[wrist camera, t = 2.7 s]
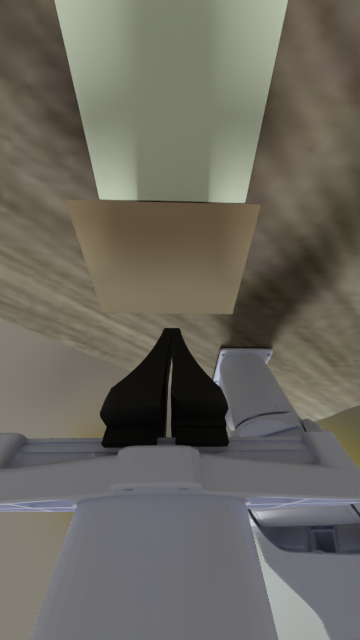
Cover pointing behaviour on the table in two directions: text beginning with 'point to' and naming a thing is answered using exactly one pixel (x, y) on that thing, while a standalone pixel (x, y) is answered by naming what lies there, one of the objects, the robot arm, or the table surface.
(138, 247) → the birch block
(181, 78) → the mat
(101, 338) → the table surface
